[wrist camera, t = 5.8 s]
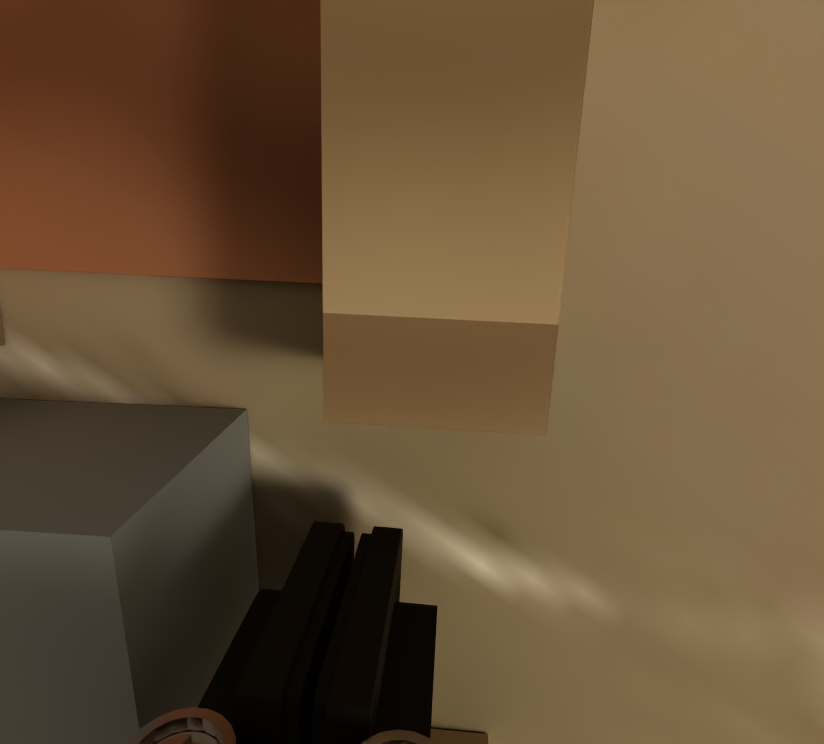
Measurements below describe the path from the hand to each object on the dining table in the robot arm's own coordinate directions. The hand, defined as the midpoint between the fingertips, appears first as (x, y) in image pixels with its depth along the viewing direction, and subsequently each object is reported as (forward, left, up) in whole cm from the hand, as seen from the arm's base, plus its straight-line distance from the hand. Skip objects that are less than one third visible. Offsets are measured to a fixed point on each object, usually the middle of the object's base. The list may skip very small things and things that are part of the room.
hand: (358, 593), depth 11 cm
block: (0, +5, -1) cm, 5 cm away
